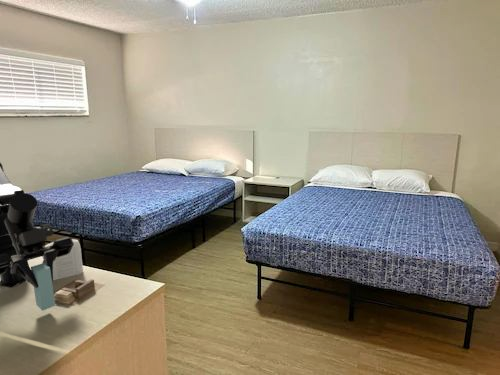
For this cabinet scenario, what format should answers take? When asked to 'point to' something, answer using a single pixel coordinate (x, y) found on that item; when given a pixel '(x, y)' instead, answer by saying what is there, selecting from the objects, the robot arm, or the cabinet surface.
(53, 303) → the teal rectangular block
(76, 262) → the photo printer
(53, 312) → the cabinet surface
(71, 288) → the rack
